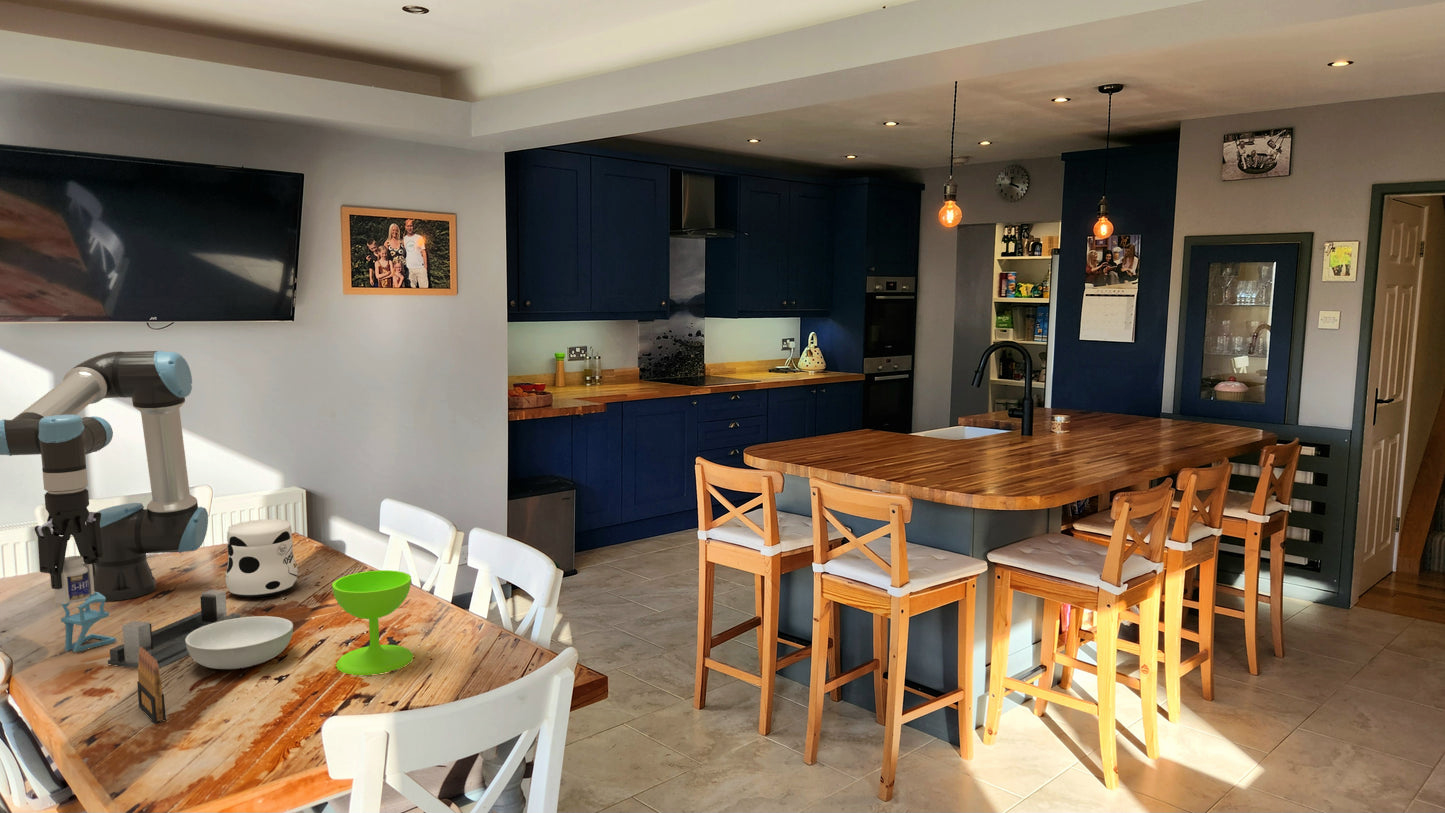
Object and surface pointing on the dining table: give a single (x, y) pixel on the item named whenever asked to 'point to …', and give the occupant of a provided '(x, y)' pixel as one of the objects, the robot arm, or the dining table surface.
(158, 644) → the rail
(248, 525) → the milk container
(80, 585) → the pill bottle
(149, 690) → the ammunition clip
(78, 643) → the chair
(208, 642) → the serving bowl
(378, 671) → the wineglass
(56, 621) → the dining table surface
